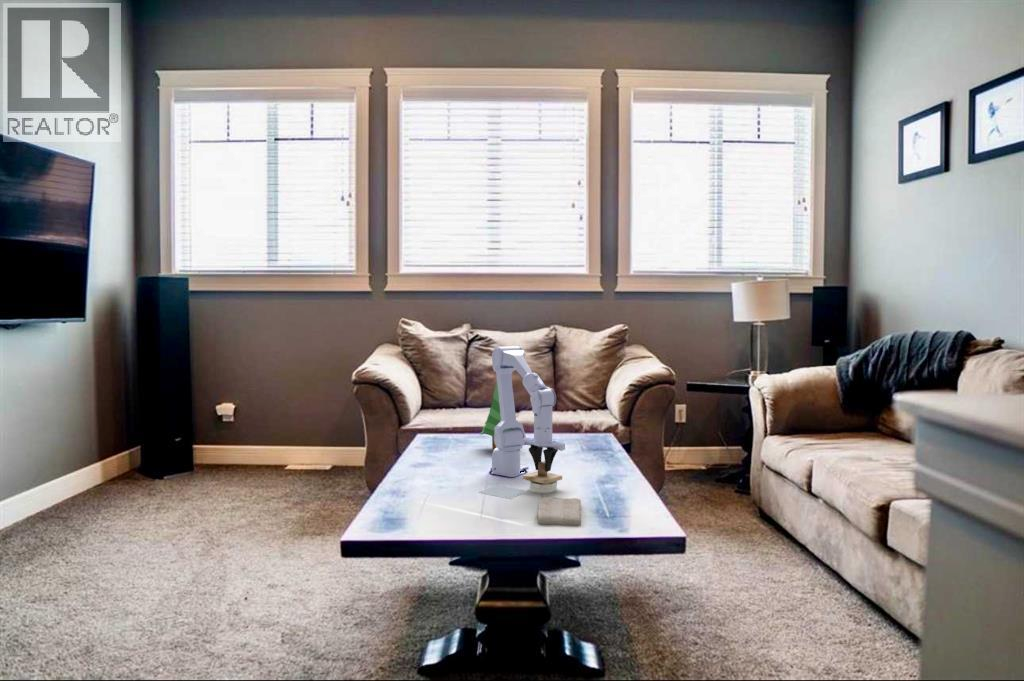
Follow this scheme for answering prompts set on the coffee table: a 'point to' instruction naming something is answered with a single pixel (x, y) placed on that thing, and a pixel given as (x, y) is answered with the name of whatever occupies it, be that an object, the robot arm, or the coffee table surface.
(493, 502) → the coffee table surface
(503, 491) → the mat
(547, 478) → the lid
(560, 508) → the washcloth
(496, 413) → the decorative tree
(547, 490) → the bowl
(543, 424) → the robot arm
